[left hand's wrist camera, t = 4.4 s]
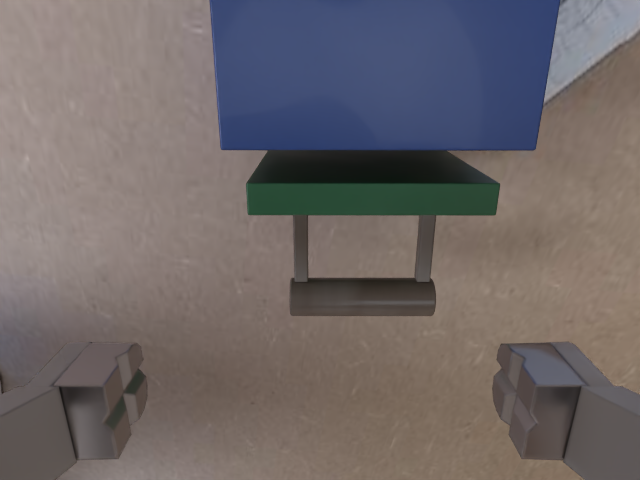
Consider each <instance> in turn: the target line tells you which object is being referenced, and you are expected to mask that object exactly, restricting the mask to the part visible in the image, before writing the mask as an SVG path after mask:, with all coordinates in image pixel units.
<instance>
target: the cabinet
mask: <svg viewBox="0 0 640 480" xmlns="http://www.w3.org/2000/svg"><path fill="white" fill-rule="evenodd" d="M559 5H560V0H210V12H211V25H212V38H213V52H214V65H215V79H216V92H217V106H218V119H219V133H220V146H221V149H222V150H535V149H536V144H537V138H538V132H539V126H540V120H541V114H542V108H543V102H544V96H545V90H546V83H547V77H548V71H549V65H550V59H551V53H552V47H553V41H554V35H555V29H556V23H557V17H558V11H559Z"/></svg>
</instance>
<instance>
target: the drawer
mask: <svg viewBox="0 0 640 480" xmlns="http://www.w3.org/2000/svg"><path fill="white" fill-rule="evenodd" d="M499 189H500V183H498V182H496V181H495V180H493V179H492V178H490V177H488V176H487V175H485V174H483V173H482V172H480V171H478V170H477V169H475V168H474V167H472V166H470V165H469V164H467V163H465V162H464V161H462V160H460V159H459V158H457V157H456V156H454V155H452V154H451V153H449V152H447V151H446V150H268V152H267V153H266V155H265V156H264V158H263V159H262V161H261V162H260V164H259V165H258V167H257V168H256V170H255V171H254V173H253V174H252V176H251V177H250V179H249V180H248V182H247V183H246V192H247V210H248V215H293V228H294V278H291V281H290V314H291V316H432V315H433V314H434V311H435V306H436V291H435V286H434V282H433V280H432V279H431V278H430V275H431V265H432V254H433V244H434V233H435V222H436V215H496V210H497V203H498V196H499ZM308 215H419V226H418V239H417V251H416V263H415V278H308Z"/></svg>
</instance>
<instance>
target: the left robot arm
mask: <svg viewBox="0 0 640 480" xmlns="http://www.w3.org/2000/svg"><path fill="white" fill-rule="evenodd" d="M142 361H143V355H142V350H141V347H140V346H139V345H138V344H137V343H114V342H71V343H67V344H66V345H65V346H64V347H63V348H62V349H61V350H60V351H59V352H58V353H57V354H56V355H55V356H54V357H53V358H52V359H51V360H50V361H49V362H48V363H47V364H46V365H45V366H44V368H43V369H42V370H41V371H40V372H39V373H38V374H37V375H36V376H35V377H34V378H33V379H32V380H31V381H30V382H29V383H28V384H27V385H26V386H18V387H16V388H14V389H11V390H9V391H7V392H5V393H3V394H2V392H1V382H0V480H55V479H57V478H58V477H59V476H60V475H62V474H63V473H64V472H65V471H67V470H68V469H69V468H70V467H71V466H73V465H74V464H75V463H76V462H77V461H76V460H99V459H119V457H120V455H121V453H122V451H123V449H124V447H125V445H126V444H127V442H128V440H129V438H130V436H131V430H130V425H132V424H133V423H134V422H136V421H137V420H139V419H140V417H141V415H142V413H143V411H144V408H145V404H146V400H147V379H146V376H145V375H144V374H143V373H142V372H141V371H140V370H139V366H140V364H141V363H142ZM497 361H498V363H499V364H500V366H501V370H500V371H499V372H498V373H497V374H496V375H495V376H494V380H493V388H492V390H493V401H494V405H495V408H496V411H497V413H498V415H499V417H500V419H501V420H503V421H504V422H506V423H507V424H508V425H510V430H509V436H510V438H511V440H512V442H513V444H514V445H515V447H516V449H517V451H518V453H519V455H520V457H521V458H522V459H541V460H564V461H563V462H564V463H565V464H566V465H568V466H569V467H570V468H571V469H572V470H574V471H575V472H576V473H577V474H579V475H580V476H581V477H582V478H584V479H585V480H640V395H639V394H637V393H635V392H633V391H631V390H629V389H626V388H624V387H622V386H614V385H613V384H612V383H611V382H610V381H609V380H608V379H607V378H606V377H605V376H604V375H603V374H602V373H601V372H600V371H599V370H598V368H597V367H596V366H595V365H594V364H593V363H592V362H591V361H590V360H589V359H588V358H587V357H586V356H585V355H584V354H583V353H582V352H581V351H580V350H579V349H578V348H577V346H576V345H575V344H573V343H570V342H546V343H511V344H501V345H500V347H499V349H498V354H497Z"/></svg>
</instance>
